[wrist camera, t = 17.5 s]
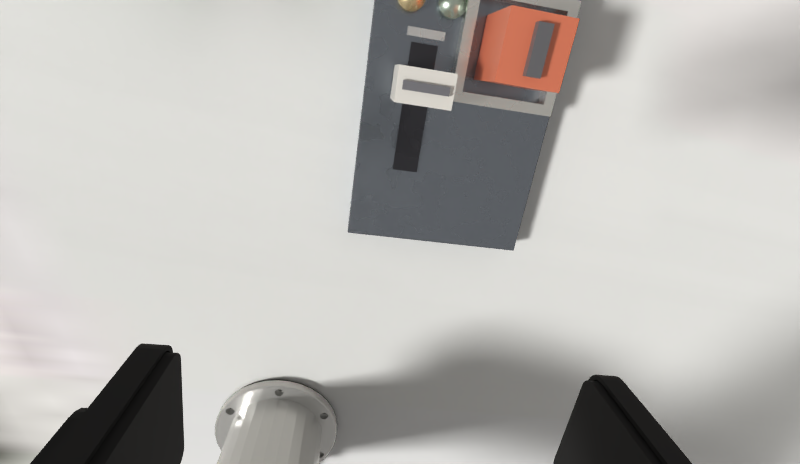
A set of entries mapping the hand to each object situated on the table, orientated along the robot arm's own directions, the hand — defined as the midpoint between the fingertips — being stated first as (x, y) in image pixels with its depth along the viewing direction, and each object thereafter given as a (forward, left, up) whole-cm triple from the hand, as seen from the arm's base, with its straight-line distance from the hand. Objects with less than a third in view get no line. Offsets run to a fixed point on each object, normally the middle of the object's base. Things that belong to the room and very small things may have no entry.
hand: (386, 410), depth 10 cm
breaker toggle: (+7, -3, -26) cm, 27 cm away
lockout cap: (+10, -9, -26) cm, 30 cm away
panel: (+4, -6, -28) cm, 29 cm away
